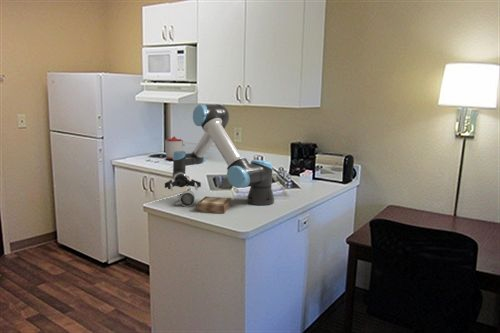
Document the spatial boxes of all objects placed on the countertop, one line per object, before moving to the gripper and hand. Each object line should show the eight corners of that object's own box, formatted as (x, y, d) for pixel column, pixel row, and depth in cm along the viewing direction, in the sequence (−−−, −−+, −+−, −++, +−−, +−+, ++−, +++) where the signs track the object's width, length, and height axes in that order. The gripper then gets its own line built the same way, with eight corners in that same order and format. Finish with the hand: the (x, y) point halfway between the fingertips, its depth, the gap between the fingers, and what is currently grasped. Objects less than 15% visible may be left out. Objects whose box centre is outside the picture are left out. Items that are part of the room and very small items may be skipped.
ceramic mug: (194, 202, 223) (194, 188, 222) (194, 206, 215) (194, 192, 214) (174, 203, 221) (174, 189, 220) (174, 207, 214) (173, 192, 212)
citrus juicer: (186, 160, 355) (186, 137, 351) (166, 161, 350) (165, 137, 346) (183, 157, 370) (183, 135, 366) (163, 158, 364) (163, 135, 361)
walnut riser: (230, 205, 219) (231, 197, 218) (224, 213, 204) (224, 205, 204) (205, 203, 221) (205, 195, 221) (197, 211, 207) (197, 203, 206)
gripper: (201, 185, 250) (206, 194, 230) (159, 186, 244) (161, 195, 224) (201, 173, 249) (207, 181, 229) (159, 174, 242) (161, 182, 222)
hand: (184, 188), depth 226 cm, fingers open, 13 cm apart
